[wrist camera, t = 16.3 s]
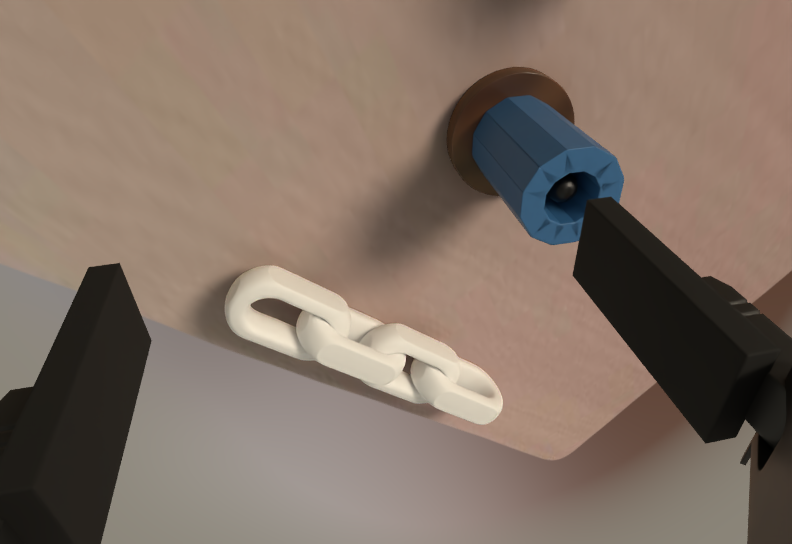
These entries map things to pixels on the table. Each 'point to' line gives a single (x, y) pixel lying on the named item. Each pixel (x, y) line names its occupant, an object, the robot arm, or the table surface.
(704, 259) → the table surface
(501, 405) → the chain
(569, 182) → the stand post
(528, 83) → the stand base
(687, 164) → the table surface
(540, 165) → the towel roll
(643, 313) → the robot arm
